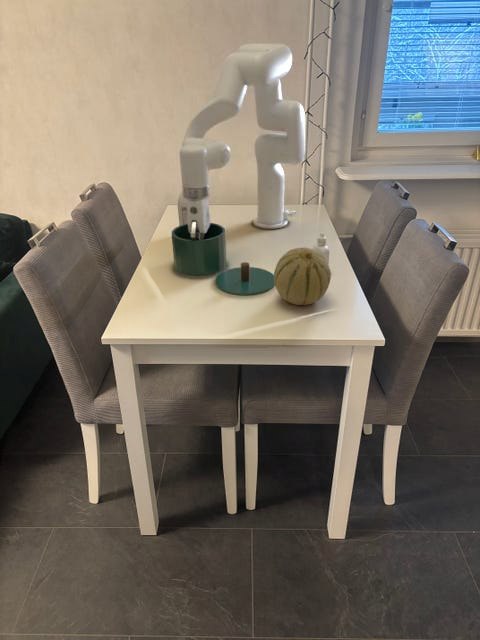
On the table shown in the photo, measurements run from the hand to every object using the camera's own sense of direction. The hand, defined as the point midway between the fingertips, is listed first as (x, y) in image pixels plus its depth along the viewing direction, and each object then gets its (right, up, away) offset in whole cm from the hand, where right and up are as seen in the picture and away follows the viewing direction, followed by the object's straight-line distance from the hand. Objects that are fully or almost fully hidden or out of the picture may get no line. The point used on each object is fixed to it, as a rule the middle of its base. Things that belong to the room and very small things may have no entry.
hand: (200, 249), depth 149 cm
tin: (0, -5, +3) cm, 6 cm away
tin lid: (+13, -10, -8) cm, 19 cm away
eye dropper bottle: (+35, -7, -1) cm, 36 cm away
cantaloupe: (+28, -16, -17) cm, 37 cm away
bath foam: (-5, +8, +25) cm, 27 cm away
